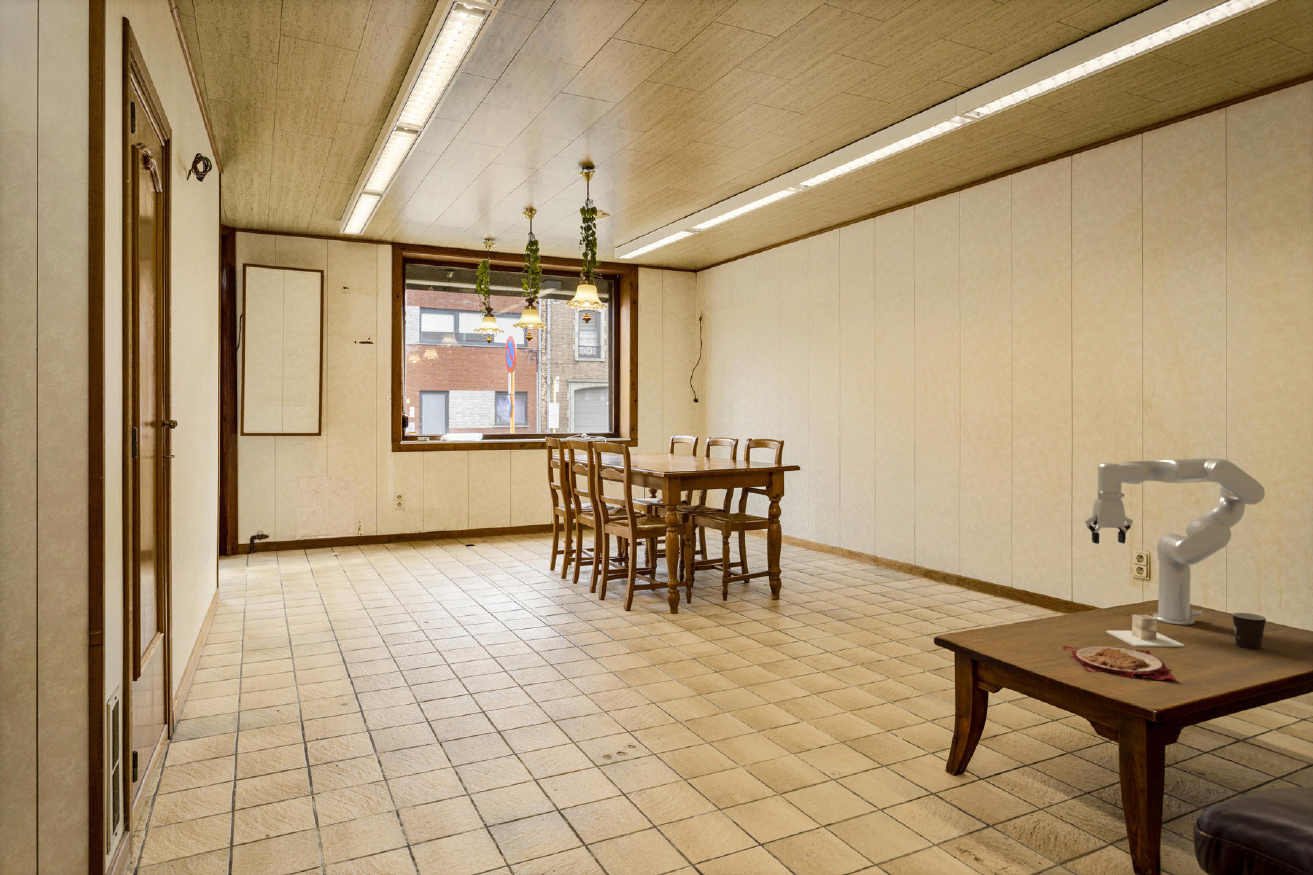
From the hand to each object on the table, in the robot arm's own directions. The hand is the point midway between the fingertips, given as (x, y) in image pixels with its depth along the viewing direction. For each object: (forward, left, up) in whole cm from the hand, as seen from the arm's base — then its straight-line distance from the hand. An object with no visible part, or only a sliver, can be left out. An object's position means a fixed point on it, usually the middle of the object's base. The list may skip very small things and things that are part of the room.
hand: (1108, 542), depth 283 cm
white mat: (+3, +27, -28) cm, 39 cm away
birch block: (+3, +27, -27) cm, 38 cm away
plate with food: (+27, +51, -29) cm, 65 cm away
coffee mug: (-27, +34, -28) cm, 51 cm away
